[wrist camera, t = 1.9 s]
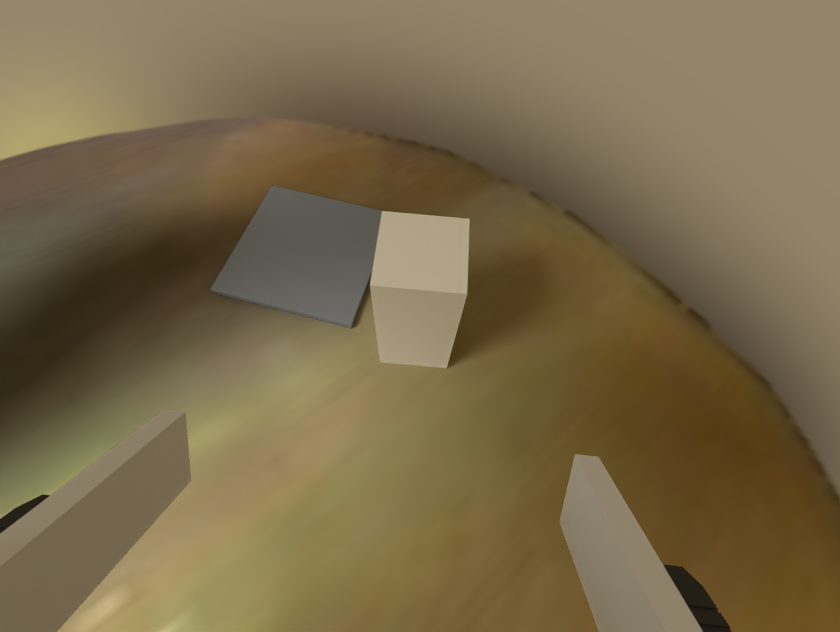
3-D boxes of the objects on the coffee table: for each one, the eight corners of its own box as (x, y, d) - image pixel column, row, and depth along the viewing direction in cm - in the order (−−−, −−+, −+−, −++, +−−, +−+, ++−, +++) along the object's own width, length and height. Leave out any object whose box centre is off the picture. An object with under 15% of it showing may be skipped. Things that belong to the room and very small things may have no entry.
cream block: (380, 362, 36) (369, 285, 25) (388, 304, 39) (382, 210, 28) (446, 368, 36) (467, 294, 25) (449, 309, 39) (469, 218, 28)
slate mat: (212, 292, 39) (210, 289, 38) (273, 189, 45) (271, 185, 45) (351, 328, 38) (350, 325, 37) (393, 216, 44) (393, 213, 44)
